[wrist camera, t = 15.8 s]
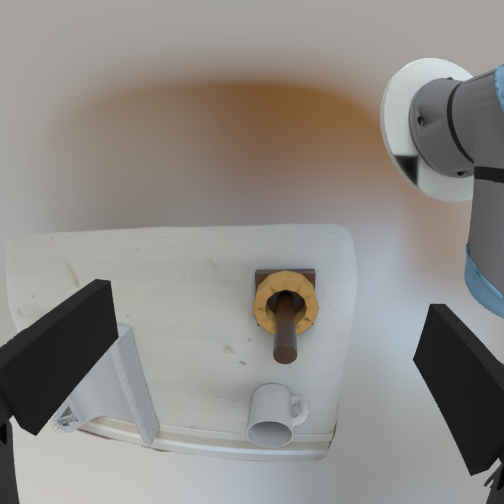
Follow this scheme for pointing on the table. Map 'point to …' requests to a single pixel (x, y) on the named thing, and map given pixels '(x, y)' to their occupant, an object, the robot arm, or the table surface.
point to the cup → (274, 415)
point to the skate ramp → (112, 391)
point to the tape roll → (280, 283)
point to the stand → (285, 315)
